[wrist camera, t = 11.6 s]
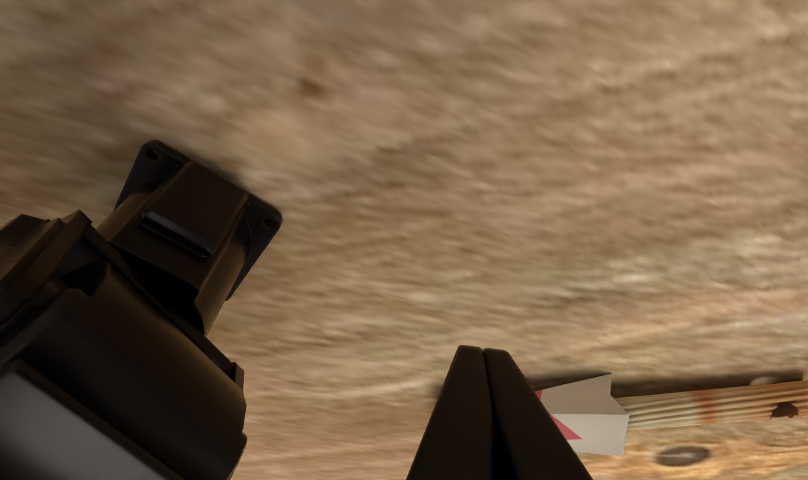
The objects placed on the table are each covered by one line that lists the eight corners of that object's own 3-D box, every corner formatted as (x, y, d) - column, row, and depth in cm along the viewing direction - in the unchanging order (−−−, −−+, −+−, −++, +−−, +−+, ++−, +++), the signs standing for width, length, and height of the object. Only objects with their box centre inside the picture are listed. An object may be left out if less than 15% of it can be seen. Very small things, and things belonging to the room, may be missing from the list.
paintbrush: (440, 430, 26) (844, 397, 24) (438, 388, 28) (807, 355, 27) (448, 469, 28) (819, 443, 26) (445, 427, 31) (787, 400, 29)
